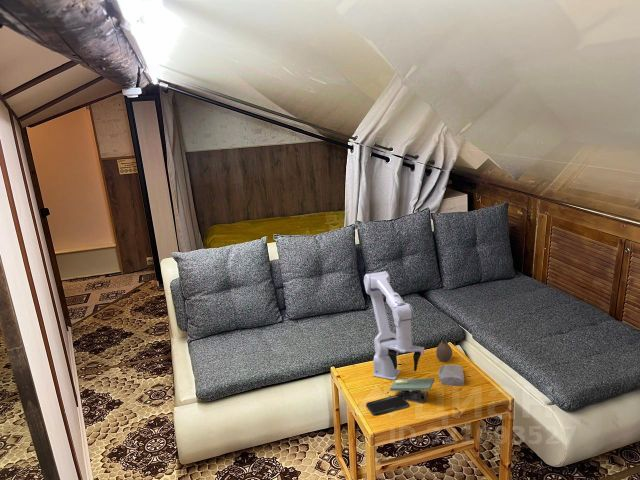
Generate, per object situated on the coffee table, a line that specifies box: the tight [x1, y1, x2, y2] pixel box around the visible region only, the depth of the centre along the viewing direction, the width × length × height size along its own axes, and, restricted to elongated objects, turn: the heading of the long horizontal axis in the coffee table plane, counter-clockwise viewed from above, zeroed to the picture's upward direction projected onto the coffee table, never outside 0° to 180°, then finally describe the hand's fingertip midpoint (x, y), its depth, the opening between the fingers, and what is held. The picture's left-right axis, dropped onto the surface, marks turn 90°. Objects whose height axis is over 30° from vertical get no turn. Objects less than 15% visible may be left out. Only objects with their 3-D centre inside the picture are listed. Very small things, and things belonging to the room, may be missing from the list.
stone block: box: [438, 364, 465, 387], centre depth 189 cm, size 12×5×10 cm
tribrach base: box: [397, 390, 428, 404], centre depth 178 cm, size 10×7×3 cm
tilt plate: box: [389, 377, 435, 392], centre depth 178 cm, size 16×7×3 cm, turn 62°
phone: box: [365, 394, 410, 417], centre depth 174 cm, size 8×1×15 cm
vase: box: [435, 340, 453, 363], centre depth 203 cm, size 7×7×9 cm
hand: (405, 368), depth 177 cm, fingers open, 7 cm apart
